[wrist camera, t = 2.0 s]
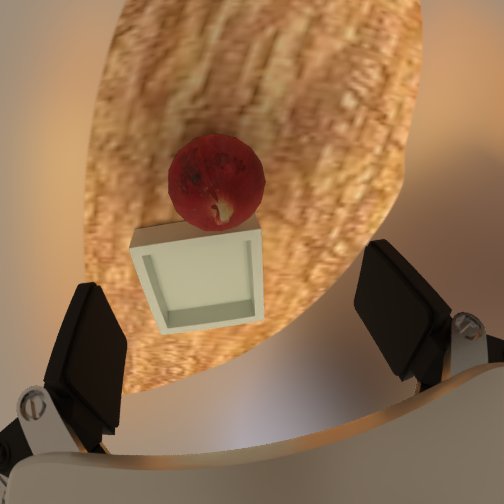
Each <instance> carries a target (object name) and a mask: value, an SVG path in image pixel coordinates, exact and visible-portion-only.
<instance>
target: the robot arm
mask: <svg viewBox="0 0 504 504" xmlns="http://www.w3.org/2000/svg"><path fill="white" fill-rule="evenodd" d="M354 307H355V310H356V311H357V313H358V314H359V316H360V318H361V319H362V321H363V322H364V324H365V326H366V327H367V329H368V331H369V332H370V334H371V336H372V337H373V339H374V341H375V342H376V344H377V346H378V347H379V349H380V351H381V352H382V354H383V356H384V357H385V359H386V361H387V363H388V364H389V366H390V368H391V370H392V371H393V373H394V374H395V375H396V376H399V378H400V379H401V381H402V382H403V381H405V380H407V379H409V378H411V377H413V376H415V377H416V379H417V383H416V388H415V394H414V396H413V397H411V398H408V399H406V400H404V401H402V402H400V403H397V404H395V405H393V406H390V407H388V408H386V409H383V410H381V411H378V412H376V413H373V414H371V415H368V416H365V417H363V418H360V419H357V420H354V421H352V422H349V423H346V424H343V425H340V426H336V427H333V428H330V429H327V430H324V431H320V432H316V433H313V434H309V435H305V436H302V437H298V438H294V439H289V440H285V441H281V442H276V443H271V444H266V445H261V446H255V447H250V448H243V449H236V450H229V451H221V452H212V453H202V454H187V455H163V456H144V455H112V454H111V453H110V452H109V451H108V450H107V448H106V447H105V445H104V444H103V443H102V434H105V435H115V428H116V427H118V426H119V418H120V405H121V394H122V384H123V375H124V367H125V359H126V352H127V340H126V337H125V335H124V333H123V331H122V329H121V327H120V326H119V324H118V322H117V320H116V318H115V316H114V314H113V312H112V309H111V307H110V305H109V303H108V301H107V299H106V297H105V295H104V292H103V290H102V288H101V287H100V286H97V285H96V284H95V283H94V282H89V283H82V284H79V285H78V286H77V288H76V291H75V293H74V296H73V297H72V300H71V302H70V305H69V307H68V310H67V312H66V315H65V317H64V320H63V322H62V325H61V328H60V330H59V333H58V336H57V339H56V342H55V345H54V347H53V351H52V354H51V357H50V360H49V363H48V366H47V370H46V373H45V376H44V380H43V381H44V382H45V384H44V387H41V386H37V385H36V386H31V387H29V388H27V389H26V390H25V391H24V392H23V393H22V394H21V396H20V397H19V399H18V402H17V415H18V417H17V418H16V419H15V420H14V421H13V422H11V424H9V425H8V426H7V427H6V428H5V429H4V430H2V431H1V432H0V504H504V340H501V339H499V338H496V337H493V336H489V335H487V334H486V331H485V327H484V325H483V323H482V322H481V321H480V319H479V318H477V317H476V316H474V315H473V314H470V313H468V312H459V313H457V314H455V315H454V317H453V318H451V317H450V313H451V311H452V310H451V308H450V307H449V306H448V305H447V304H446V302H445V301H444V300H443V299H442V298H441V297H440V296H439V294H438V293H437V292H436V291H435V290H434V289H433V288H432V287H431V285H429V283H428V282H427V281H426V280H425V279H424V278H423V277H422V276H421V275H420V274H419V273H418V271H417V270H416V269H415V268H414V267H413V266H412V265H411V264H410V263H409V262H408V261H407V260H406V259H405V258H404V257H403V256H402V255H401V254H400V253H399V252H398V251H397V250H396V249H395V248H394V247H393V246H392V245H391V244H390V243H389V242H388V241H387V240H385V239H381V240H375V241H371V242H370V243H369V244H368V246H366V247H365V251H364V257H363V262H362V266H361V271H360V276H359V281H358V285H357V290H356V294H355V299H354Z"/></svg>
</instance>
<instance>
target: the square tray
mask: <svg viewBox="0 0 504 504" xmlns="http://www.w3.org/2000/svg"><path fill="white" fill-rule="evenodd" d="M129 251H130V254H131V257H132V260H133V263H134V266H135V269H136V271H137V274H138V277H139V280H140V283H141V285H142V288H143V291H144V293H145V296H146V298H147V301H148V304H149V306H150V309H151V311H152V314H153V316H154V318H155V321H156V323H157V326H158V328H159V330H160V333H161V335H165V334H174V333H183V332H191V331H198V330H206V329H213V328H220V327H226V326H233V325H239V324H245V323H251V322H257V321H263V320H264V296H263V265H262V236H261V227H260V225H259V223H258V220H257V218H256V216H255V213H253V215H252V216H251V217H250V218H249V219H247V220H246V221H244V222H243V223H242V224H240V225H239V226H237V227H234V228H231V229H228V230H224V231H204V230H202V229H199V228H197V227H195V226H193V225H191V224H189V223H188V222H187V221H183V222H176V223H170V224H164V225H157V226H151V227H145V228H139V229H135V231H134V234H133V237H132V240H131V243H130V246H129Z"/></svg>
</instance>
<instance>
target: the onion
mask: <svg viewBox="0 0 504 504" xmlns="http://www.w3.org/2000/svg"><path fill="white" fill-rule="evenodd" d="M265 183H266V181H265V176H264V172H263V167H262V164H261V161H260V160H259V158H258V157H257V156H256V154H255V153H254V151H253V150H252V149H251V147H249V146H248V145H246V144H245V143H243V142H242V141H240V140H239V139H237V138H235V137H230V136H225V135H220V134H211V135H206V136H201V137H197V138H195V139H194V140H192V141H191V142H190V143H188V144H187V145H186V146H184V147H183V148H182V149H181V150H179V151H178V153H177V154H176V156H175V158H174V160H173V162H172V164H171V166H170V168H169V174H168V193H169V195H170V198H171V200H172V202H173V205H174V207H175V209H176V211H177V213H178V214H179V215H180V216H182V217H183V218H184V219H185V220H186V221H187V222H188V223H189V224H191V225H193V226H195V227H197V228H199V229H202V230H204V231H224V230H228V229H231V228H234V227H237V226H239V225H240V224H242V223H243V222H244V221H246V220H247V219H249V218H250V217H251V216H252V215H253V213H254V212H255V210H256V209H257V207H258V206H259V204H260V203H261V200H262V196H263V192H264V187H265Z"/></svg>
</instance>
